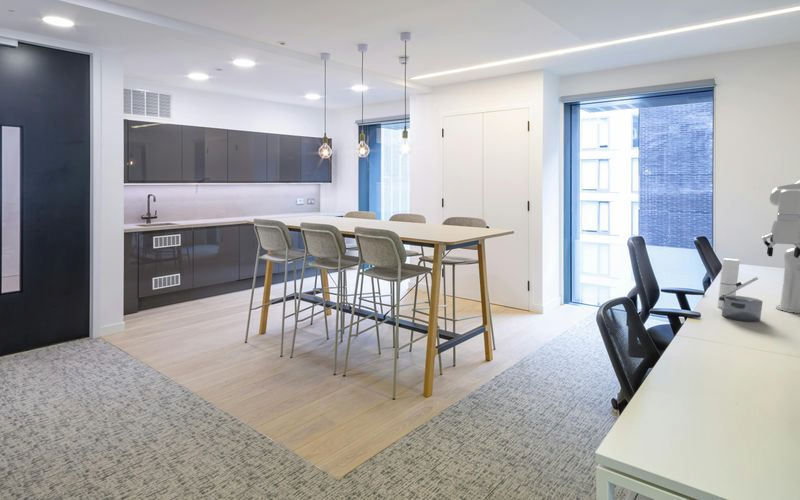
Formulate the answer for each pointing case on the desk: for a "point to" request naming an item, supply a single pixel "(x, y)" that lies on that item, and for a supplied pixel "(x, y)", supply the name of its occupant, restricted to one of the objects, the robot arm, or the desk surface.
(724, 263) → the cylindrical container
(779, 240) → the robot arm
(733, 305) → the pot
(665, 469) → the desk surface
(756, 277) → the lid
